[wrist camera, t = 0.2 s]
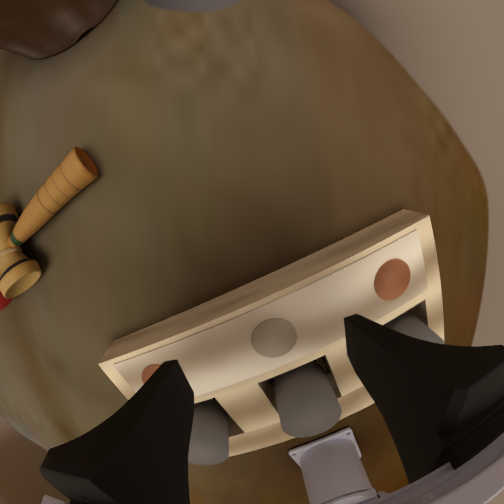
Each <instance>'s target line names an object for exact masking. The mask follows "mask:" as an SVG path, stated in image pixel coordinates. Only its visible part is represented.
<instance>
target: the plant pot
mask: <svg viewBox="0 0 504 504" xmlns="http://www.w3.org/2000/svg"><path fill="white" fill-rule="evenodd" d="M116 1H117V0H0V49H2V50H6V51H9V52H12V53H15V54H19V55H22V56H24V57H27V58H30V59H42V58H46V57H49V56H52V55H54V54H57V53H59V52H61V51H63V50H65V49H66V48H68V47H70V46H71V45H73V44H74V43H76V42H77V41H78V40H79V38H80V36H81V35H82V34H83V33H84V32H86V31H87V30H88V29H90V28H92V27H95V26H97V25H98V24H99V23H100V22H101V21H102V20H103V18H104V17H105V16H106V15H107V14H108V13H109V11H110V10H111V9H112V7H113V6H114V4H115V3H116Z"/></svg>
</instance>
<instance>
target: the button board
mask: <svg viewBox="0 0 504 504" xmlns="http://www.w3.org/2000/svg"><path fill="white" fill-rule="evenodd" d="M407 310H408V311H410V312H412V313H413V314H414V315H415V316H416V317H418V318H419V319H420V320H421V321H422V322H423V323H425V324H426V325H427V326H428V327H429V328H430V329H431V330H433V331H434V332H435V333H436V334H437V335H438V336H439V337H441V338H442V339H443V341H444V319H443V303H442V292H441V282H440V274H439V266H438V260H437V253H436V247H435V242H434V236H433V231H432V226H431V222H430V217H429V215H425V214H422V213H418V212H414V211H410V210H405V209H402V210H400V211H398V212H396V213H394V214H392V215H390V216H388V217H386V218H384V219H382V220H380V221H378V222H376V223H374V224H372V225H370V226H368V227H366V228H364V229H362V230H360V231H358V232H356V233H354V234H352V235H350V236H348V237H346V238H344V239H342V240H340V241H338V242H336V243H334V244H331V245H329V246H327V247H325V248H323V249H321V250H319V251H317V252H315V253H313V254H310V255H308V256H306V257H304V258H302V259H300V260H298V261H296V262H293V263H291V264H289V265H287V266H285V267H283V268H281V269H278V270H276V271H274V272H272V273H270V274H267V275H265V276H263V277H261V278H259V279H256V280H254V281H252V282H250V283H248V284H245V285H243V286H241V287H239V288H236V289H234V290H232V291H230V292H227V293H225V294H223V295H221V296H218V297H216V298H214V299H212V300H209V301H207V302H205V303H202V304H200V305H198V306H196V307H193V308H191V309H189V310H186V311H184V312H182V313H179V314H177V315H175V316H172V317H170V318H167V319H165V320H163V321H160V322H158V323H156V324H153V325H151V326H148V327H146V328H144V329H141V330H139V331H136V332H134V333H131V334H129V335H126V336H124V337H122V338H119V339H117V340H114V341H112V343H111V344H110V346H109V347H108V349H107V350H106V352H105V354H104V355H103V357H102V358H101V360H100V362H99V363H98V365H99V366H100V367H101V368H102V370H103V371H104V372H105V373H106V375H107V376H108V377H109V378H110V379H111V381H112V382H113V383H114V384H115V385H116V387H117V388H118V389H119V390H120V391H121V392H122V393H123V395H124V396H125V397H126V398H127V399H128V400H129V399H130V398H131V397H132V396H133V395H134V394H135V393H136V392H137V391H138V390H139V389H140V388H141V387H142V386H143V385H144V383H145V382H146V381H147V380H148V379H149V378H150V377H151V375H152V374H153V373H154V372H155V371H156V370H157V369H158V368H159V366H160V365H161V364H162V363H163V362H164V361H170V360H176V359H177V360H178V362H179V364H180V366H181V368H182V370H183V372H184V374H185V376H186V378H187V380H188V382H189V384H190V386H191V388H192V389H193V391H194V404H195V403H198V402H202V401H205V400H209V399H212V398H216V400H217V401H218V402H219V403H220V405H221V406H222V407H223V408H224V409H225V411H226V412H227V413H228V416H229V456H228V457H230V456H234V455H238V454H242V453H246V452H250V451H254V450H257V449H261V448H264V447H268V446H271V445H274V444H278V443H281V442H284V441H287V440H290V439H293V438H295V437H293V436H290V435H287V434H286V433H285V432H284V431H283V430H282V428H281V423H280V418H279V413H278V408H277V403H276V398H275V393H274V388H273V386H272V385H271V383H270V382H269V380H268V379H270V378H272V377H275V376H278V375H280V374H283V373H285V372H287V371H290V370H292V369H295V368H297V367H299V366H302V365H304V364H306V363H308V362H311V361H313V360H315V359H317V358H319V357H322V356H324V358H325V360H326V363H327V365H328V368H329V370H330V373H327V374H326V375H327V378H328V380H329V382H330V384H331V387H332V389H333V391H334V393H335V395H336V398H337V400H338V402H339V404H340V407H341V409H342V413H341V417H340V419H343V418H345V417H347V416H349V415H351V414H353V413H356V412H358V411H360V410H362V409H364V408H366V407H368V406H370V405H371V404H373V403H375V402H374V401H373V399H372V398H371V396H370V395H369V393H368V392H367V390H366V388H365V387H364V385H363V384H362V382H361V381H360V379H359V378H358V376H357V375H356V373H355V371H354V369H353V367H352V365H351V362H350V360H349V358H348V356H347V348H346V337H345V327H344V318H345V317H348V316H351V315H354V314H359V315H361V316H364V317H366V318H368V319H370V320H372V321H374V322H376V323H379V324H381V325H384V324H386V323H387V322H389V321H391V320H392V319H394V318H396V317H398V316H399V315H401V314H402V313H404V312H406V311H407ZM340 419H339V420H340Z"/></svg>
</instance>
